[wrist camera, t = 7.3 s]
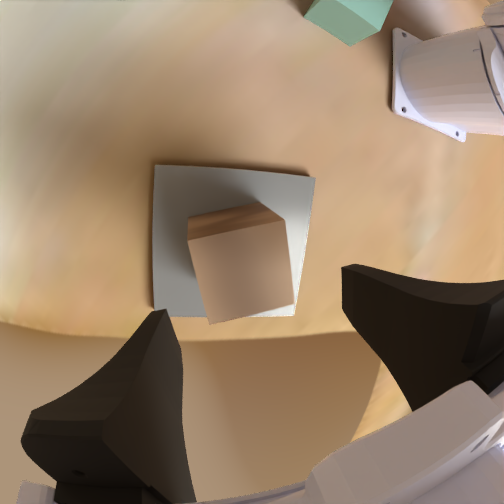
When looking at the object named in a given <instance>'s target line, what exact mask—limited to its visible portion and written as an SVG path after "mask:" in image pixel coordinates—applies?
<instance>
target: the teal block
mask: <svg viewBox="0 0 504 504" xmlns="http://www.w3.org/2000/svg"><path fill="white" fill-rule="evenodd" d="M392 3H393V0H314V1H313V3H312V4H311V6H310V8H309V9H308V11H307V12H306V14H305V15H304V18H306V19H307V20H309V21H311V22H312V23H314V24H316V25H317V26H319V27H321V28H322V29H324V30H326V31H327V32H329V33H330V34H332V35H333V36H335V37H336V38H338V39H340V40H341V41H342V42H344V43H345V44H347V45H348V46H352V45H354V44H356V43H357V42H359V41H361V40H363V39H365V38H367V37H369V36H371V35H373V34H375V33H377V32H379V31H380V30H381V27H382V25H383V23H384V21H385V18H386V16H387V14H388V12H389V9H390V7H391V5H392Z"/></svg>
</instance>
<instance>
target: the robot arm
mask: <svg viewBox="0 0 504 504" xmlns="http://www.w3.org/2000/svg"><path fill="white" fill-rule="evenodd" d="M482 19H483V20H484V22H485V24H486V25H484V26H479V27H475V28H470V29H466V30H462V31H458V32H454V33H450V34H446V35H443V36H439V37H436V38H432V39H429V40H426V41H422V40H420V39H419V38H417V37H415V36H413V35H411V34H410V33H408V32H406V31H404V30H402V29H400V28H394V29H393V91H392V110H393V112H394V113H395V114H397V115H400V116H403V117H405V118H408V119H410V120H413V121H415V122H418V123H420V124H423V125H425V126H427V127H430V128H432V129H434V130H437V131H439V132H441V133H443V134H445V135H448V136H450V137H452V138H454V139H456V140H458V141H460V142H465V140H466V132H467V133H481V134H492V135H502V136H504V0H503V1H500V2H496V3H493V4H490V5H488V6H486V7H485V8H484V14H483V15H482ZM402 34H403V35H402ZM403 36H404V37H403ZM402 108H403V112H402ZM341 270H342V309H343V311H344V313H345V314H346V316H347V318H348V319H349V321H350V322H351V324H352V326H353V327H354V328H355V329H356V330H357V332H358V333H359V334H360V335H361V336H362V337H363V339H364V340H365V341H366V342H367V343H368V344H369V345H370V347H371V348H372V349H373V350H374V351H375V352H376V354H377V355H378V356H379V357H380V358H381V360H382V361H383V362H384V364H385V365H386V366H387V368H388V369H389V371H390V373H391V374H392V376H393V377H394V379H395V380H396V382H397V384H398V385H399V387H400V389H401V391H402V392H403V394H404V396H405V398H406V400H407V402H408V404H409V405H410V407H411V409H412V411H413V412H412V413H410V414H408V415H406V416H404V417H403V418H401V419H399V420H397V421H395V422H393V423H391V424H389V425H387V426H385V427H383V428H381V429H379V430H376V431H374V432H372V433H370V434H368V435H365V436H363V437H361V438H358V439H357V440H355V441H353V442H351V443H349V444H347V445H345V446H343V447H341V448H339V449H338V450H335V451H334V452H332V453H331V454H330V455H328V456H327V457H326V458H324V459H323V460H322V461H320V462H319V463H318V464H316V465H315V466H314V468H313V469H312V471H311V473H310V474H309V476H308V478H307V480H305V481H302V482H298V483H295V484H291V485H288V486H284V487H281V488H276V489H273V490H268V491H264V492H259V493H255V494H250V495H245V496H239V497H234V498H228V499H221V500H214V501H205V502H197V501H196V497H195V494H194V489H193V485H192V480H191V476H190V471H189V466H188V460H187V454H186V449H185V441H184V434H183V425H182V391H183V364H182V354H181V348H180V345H179V343H178V340H177V337H176V334H175V332H174V329H173V326H172V323H171V320H170V318H169V315H168V312H167V309H162V310H157V311H152V312H151V313H150V314H149V315H148V316H147V317H146V319H145V320H144V321H143V322H142V324H141V325H140V326H139V328H138V329H137V330H136V331H135V333H134V334H133V335H132V336H131V338H130V339H129V340H128V341H127V342H126V343H125V344H124V346H123V347H122V348H121V349H120V350H119V351H118V352H117V354H116V355H115V356H114V357H113V358H112V359H111V360H110V361H109V362H107V363H106V364H105V365H104V366H103V367H102V368H101V369H100V370H99V371H97V372H96V373H95V374H94V375H92V376H91V377H90V378H88V379H87V380H86V381H84V382H83V383H82V384H80V385H79V386H78V387H76V388H74V389H73V390H71V391H70V392H68V393H66V394H65V395H63V396H61V397H59V398H58V399H56V400H54V401H52V402H50V403H47V404H45V405H43V406H41V407H39V408H37V409H34V410H32V411H31V414H30V416H29V419H28V421H27V424H26V427H25V429H24V432H23V435H22V438H21V444H22V447H23V449H24V450H25V452H26V454H27V455H28V456H29V457H30V458H31V459H32V460H33V461H34V462H35V463H36V464H37V465H38V466H39V467H40V468H41V469H43V470H44V471H45V472H46V473H47V474H48V475H50V476H51V477H52V478H53V479H55V480H56V481H57V485H56V489H54V488H52V487H50V486H47V485H44V484H39V483H34V482H30V481H26V480H23V481H22V482H21V486H20V490H19V495H18V499H17V504H504V280H499V281H492V282H484V283H445V282H436V281H428V280H422V279H417V278H412V277H407V276H403V275H399V274H395V273H391V272H387V271H384V270H380V269H376V268H372V267H368V266H364V265H359V264H352V265H348V266H344V267H341Z"/></svg>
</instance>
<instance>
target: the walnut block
mask: <svg viewBox="0 0 504 504" xmlns="http://www.w3.org/2000/svg"><path fill="white" fill-rule="evenodd" d="M187 241H188V246H189V250H190V254H191V258H192V262H193V266H194V270H195V274H196V278H197V281H198V285H199V289H200V293H201V297H202V300H203V304H204V308H205V311H206V315H207V318H208V322H209V325H211V324H216V323H220V322H225V321H229V320H233V319H237V318H242V317H246V316H250V315H254V314H258V313H262V312H266V311H270V310H274V309H278V308H282V307H285V306H289V305H293V304H295V300H294V290H293V281H292V272H291V264H290V255H289V247H288V239H287V231H286V223H285V219H283V218H282V217H280V216H279V215H278V214H276V213H275V212H274V211H272V210H271V209H269V208H268V207H266V206H265V205H264V204H262V203H261V202H258V203H253V204H248V205H243V206H238V207H233V208H228V209H223V210H218V211H214V212H209V213H204V214H200V215H195V216H191V217H188V236H187Z"/></svg>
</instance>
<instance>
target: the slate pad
mask: <svg viewBox="0 0 504 504" xmlns="http://www.w3.org/2000/svg"><path fill="white" fill-rule="evenodd" d="M315 179H316V178H314V177H309V176H302V175H294V174H285V173H276V172H267V171H256V170H245V169H233V168H219V167H203V166H183V165H155V173H154V193H153V236H152V248H153V291H154V311H157V310H162V309H167V312H168V315H169V317H207V315H206V311H205V308H204V304H203V300H202V297H201V293H200V289H199V285H198V281H197V278H196V274H195V270H194V266H193V262H192V258H191V254H190V250H189V246H188V241H187V236H188V217H191V216H195V215H200V214H204V213H209V212H214V211H218V210H223V209H228V208H233V207H238V206H243V205H248V204H253V203H258V202H261V203H262V204H264V205H265V206H266V207H268V208H269V209H271V210H272V211H274V212H275V213H276V214H278V215H279V216H280V217H282V218H283V219H285V223H286V231H287V239H288V247H289V255H290V264H291V272H292V281H293V290H294V300H295V304H293V305H289V306H285V307H282V308H278V309H274V310H270V311H266V312H262V313H258V314H254V315H250V316H246V317H268V316H294V312H295V307H296V301H297V296H298V290H299V285H300V279H301V273H302V267H303V261H304V255H305V249H306V242H307V236H308V229H309V223H310V216H311V209H312V201H313V194H314V186H315Z"/></svg>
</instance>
